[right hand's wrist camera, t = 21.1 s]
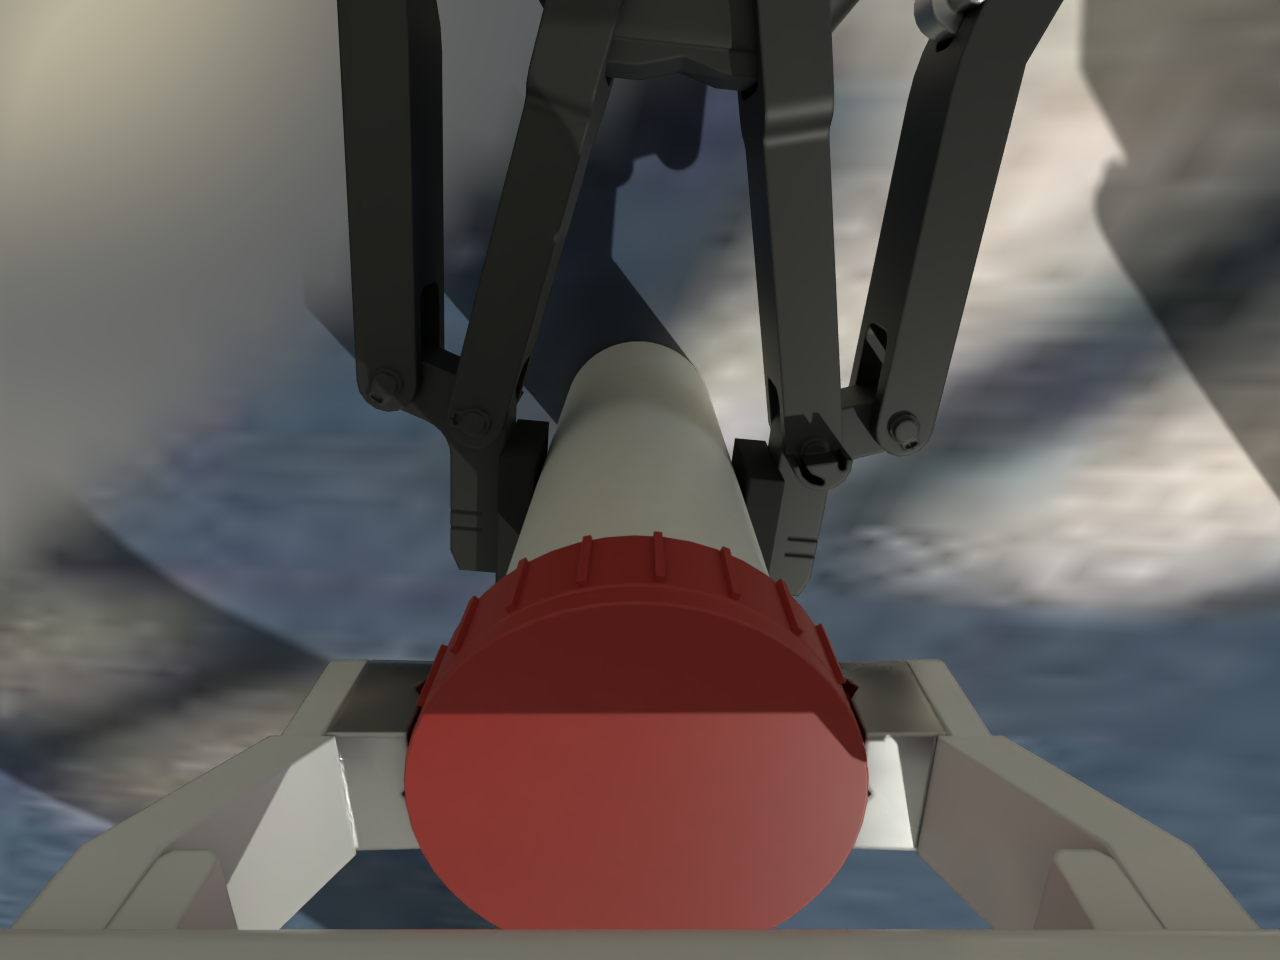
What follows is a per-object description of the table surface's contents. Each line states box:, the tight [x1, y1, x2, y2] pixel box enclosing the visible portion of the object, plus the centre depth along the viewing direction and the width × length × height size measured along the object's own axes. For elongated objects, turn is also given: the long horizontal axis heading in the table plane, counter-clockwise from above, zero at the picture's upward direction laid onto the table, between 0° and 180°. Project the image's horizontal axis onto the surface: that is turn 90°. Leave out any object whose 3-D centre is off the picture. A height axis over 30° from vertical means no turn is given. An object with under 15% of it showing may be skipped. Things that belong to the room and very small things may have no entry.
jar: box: [506, 341, 769, 576], centre depth 17 cm, size 5×5×15 cm
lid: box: [404, 531, 869, 930], centre depth 10 cm, size 6×6×2 cm
